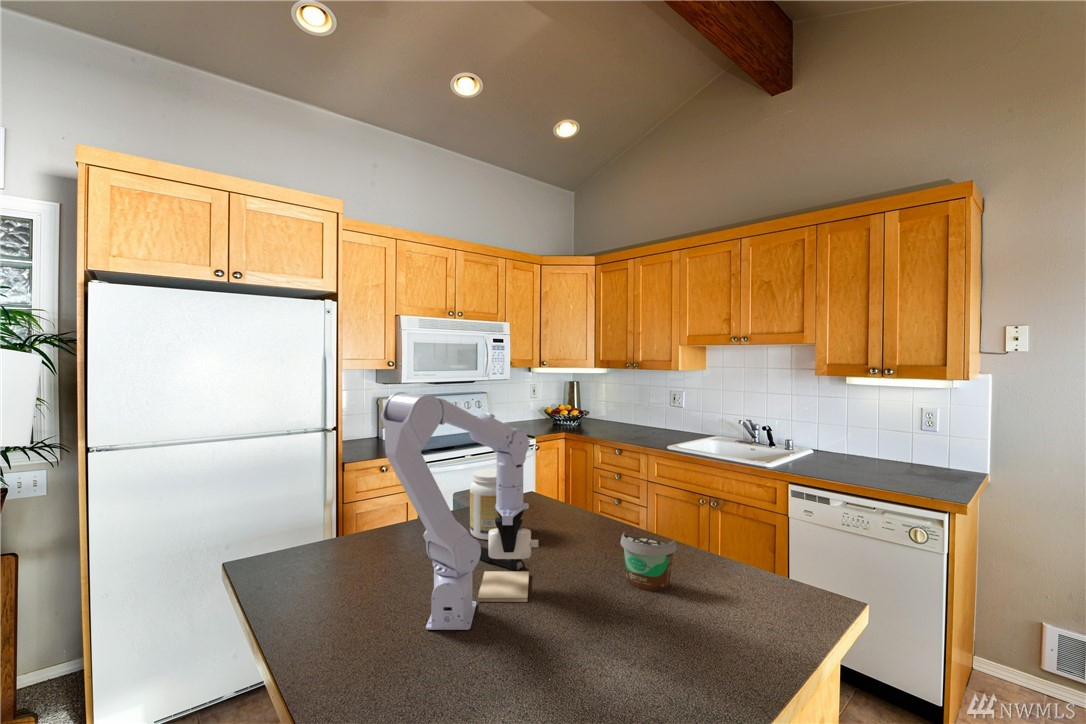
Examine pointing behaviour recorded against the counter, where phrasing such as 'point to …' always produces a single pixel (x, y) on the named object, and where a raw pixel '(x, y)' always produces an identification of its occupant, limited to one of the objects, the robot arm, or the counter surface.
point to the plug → (521, 546)
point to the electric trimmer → (502, 561)
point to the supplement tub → (483, 503)
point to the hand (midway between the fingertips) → (509, 547)
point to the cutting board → (504, 586)
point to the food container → (648, 562)
